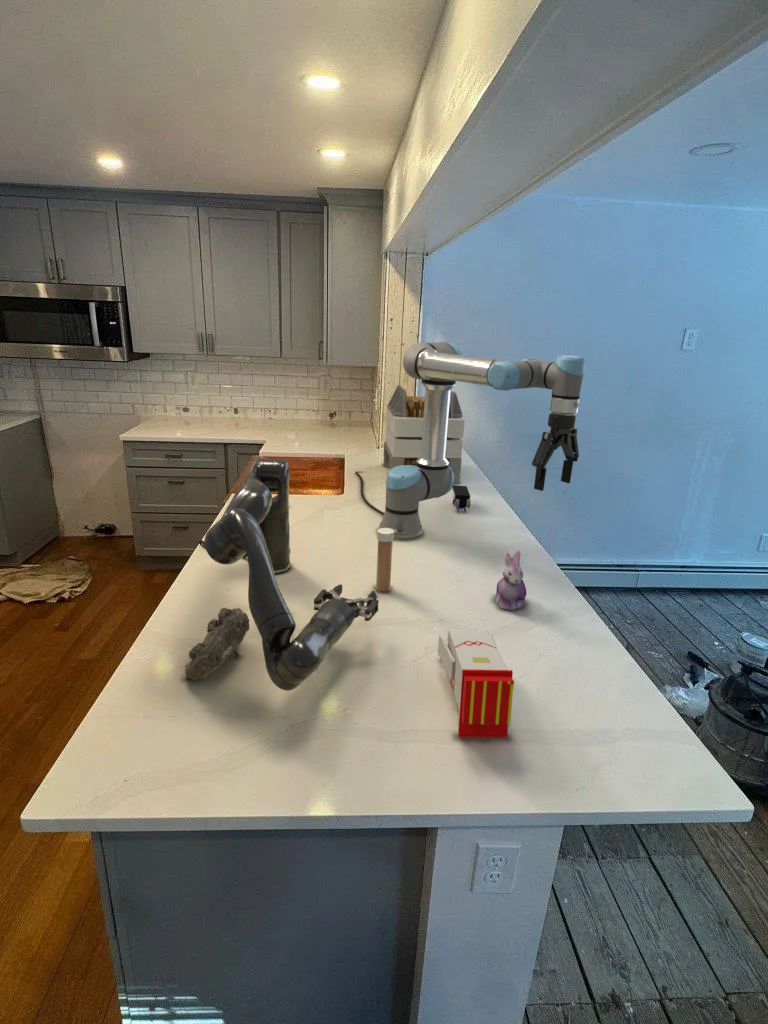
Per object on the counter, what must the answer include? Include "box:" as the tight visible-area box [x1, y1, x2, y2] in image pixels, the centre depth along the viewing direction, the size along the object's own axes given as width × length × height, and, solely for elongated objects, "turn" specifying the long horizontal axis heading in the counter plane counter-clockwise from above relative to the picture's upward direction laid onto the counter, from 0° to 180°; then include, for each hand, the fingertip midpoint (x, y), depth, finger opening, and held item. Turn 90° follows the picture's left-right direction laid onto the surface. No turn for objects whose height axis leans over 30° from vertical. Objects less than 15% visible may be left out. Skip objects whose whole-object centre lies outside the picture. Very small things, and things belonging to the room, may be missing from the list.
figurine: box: [495, 550, 527, 611], centre depth 153 cm, size 9×10×15 cm
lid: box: [376, 528, 395, 542], centre depth 155 cm, size 5×5×2 cm
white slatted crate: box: [383, 384, 465, 484], centre depth 268 cm, size 34×33×41 cm
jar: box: [375, 539, 394, 593], centre depth 158 cm, size 4×4×17 cm
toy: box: [437, 628, 515, 738], centre depth 117 cm, size 12×13×30 cm
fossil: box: [184, 607, 250, 681], centre depth 125 cm, size 22×10×15 cm
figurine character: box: [451, 484, 472, 513], centre depth 228 cm, size 7×8×15 cm
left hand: (357, 591), depth 137 cm, fingers open, 8 cm apart
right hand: (552, 485), depth 166 cm, fingers open, 13 cm apart
